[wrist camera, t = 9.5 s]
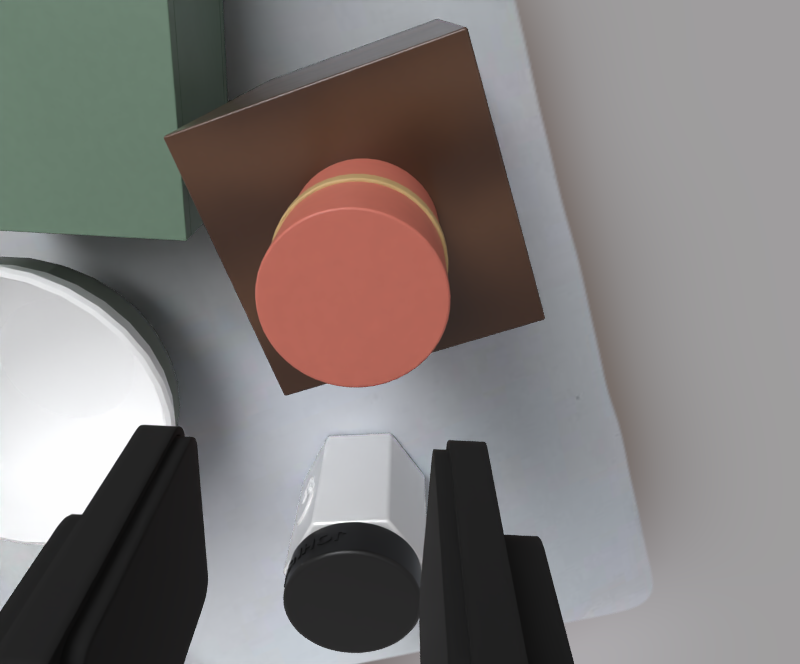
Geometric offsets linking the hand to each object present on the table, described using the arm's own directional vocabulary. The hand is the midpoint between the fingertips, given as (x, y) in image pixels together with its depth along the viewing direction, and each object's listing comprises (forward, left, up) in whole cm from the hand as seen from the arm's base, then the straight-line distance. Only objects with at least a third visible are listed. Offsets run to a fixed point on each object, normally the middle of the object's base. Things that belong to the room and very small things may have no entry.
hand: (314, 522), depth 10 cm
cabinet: (-4, -15, -33) cm, 37 cm away
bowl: (+15, -20, -33) cm, 42 cm away
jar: (+24, 0, -33) cm, 41 cm away
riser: (0, 0, -33) cm, 33 cm away
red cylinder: (0, 0, -14) cm, 14 cm away
